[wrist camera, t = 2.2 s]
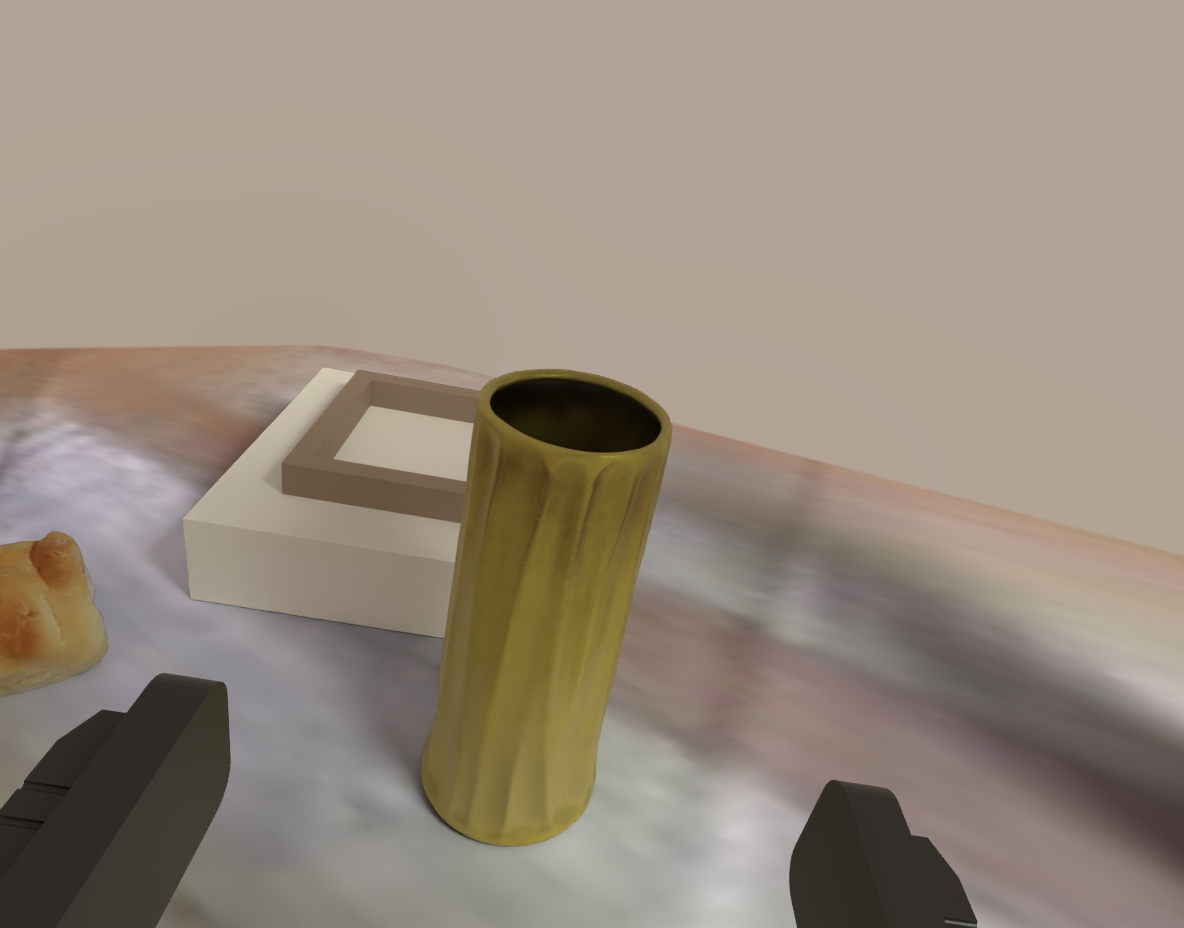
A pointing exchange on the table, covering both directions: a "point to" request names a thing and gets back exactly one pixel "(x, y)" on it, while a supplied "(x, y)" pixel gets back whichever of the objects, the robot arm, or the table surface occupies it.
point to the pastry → (46, 614)
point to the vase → (540, 598)
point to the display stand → (342, 506)
